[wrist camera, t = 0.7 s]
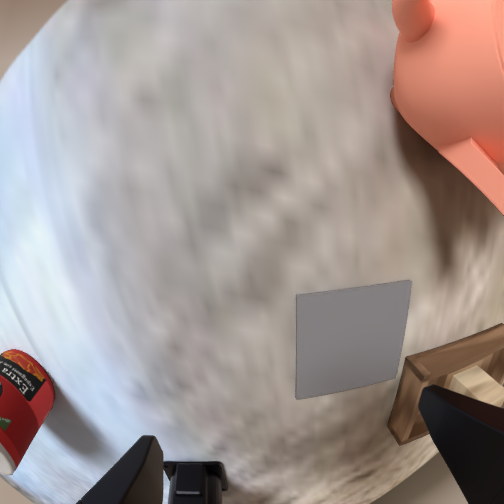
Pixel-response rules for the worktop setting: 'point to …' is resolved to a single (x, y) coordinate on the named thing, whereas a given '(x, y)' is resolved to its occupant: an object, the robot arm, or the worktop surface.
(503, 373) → the box
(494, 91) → the teapot
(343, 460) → the worktop surface
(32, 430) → the canned food
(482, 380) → the maple block
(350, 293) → the rubber mat
